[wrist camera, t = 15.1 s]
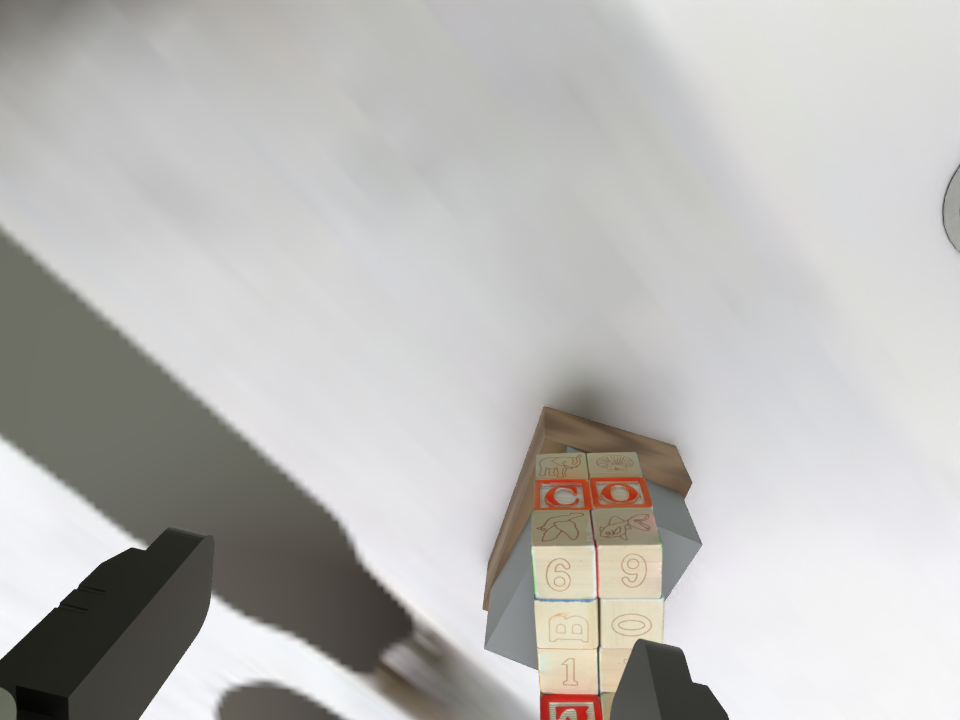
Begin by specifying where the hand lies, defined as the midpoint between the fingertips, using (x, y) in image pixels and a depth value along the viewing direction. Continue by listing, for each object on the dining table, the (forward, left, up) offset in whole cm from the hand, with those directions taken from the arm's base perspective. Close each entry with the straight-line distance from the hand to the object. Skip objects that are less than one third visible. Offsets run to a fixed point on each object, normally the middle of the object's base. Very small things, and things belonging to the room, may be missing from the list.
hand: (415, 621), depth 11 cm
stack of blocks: (-10, +18, -25) cm, 32 cm away
